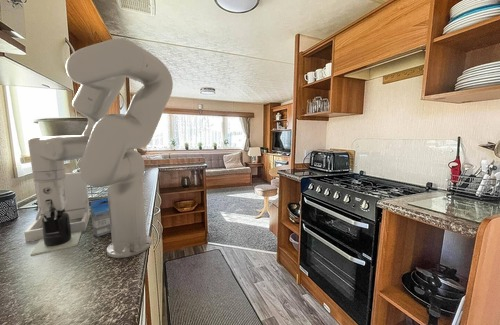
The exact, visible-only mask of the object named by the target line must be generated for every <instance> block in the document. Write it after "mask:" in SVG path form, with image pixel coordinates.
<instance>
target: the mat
mask: <svg viewBox="0 0 500 325" xmlns="http://www.w3.org/2000/svg"><path fill="white" fill-rule="evenodd" d="M82 233H83V231H79V232H74V233H71V239H70V240H69V241H68V242H66V243H64V244H61V245H57V246H46V245H45V244H44V239H39V240H38V243H37V244H36V245H35V247H34V249H33V250H32V251H31V252H30V256H31V257H32V256H35V255H41V254H45V253H46V254H47V253H49V252H54V251H58V250H64V249H68V248H73V247H77V246H78V245H79V242H80V239H81V235H82Z"/></svg>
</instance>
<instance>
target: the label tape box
mask: <svg viewBox="0 0 500 325" xmlns="http://www.w3.org/2000/svg"><path fill="white" fill-rule="evenodd" d="M104 202H105V203H104ZM89 205H90V215H91V222H92V230H93V235H94V236H96V237H97V238H99V237H102V236H104V235H107V234H111V227H110V216H109V206H108V197H106V198H101V199H98V200H97V199H96V200H93V201H89Z"/></svg>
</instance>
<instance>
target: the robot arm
mask: <svg viewBox="0 0 500 325" xmlns="http://www.w3.org/2000/svg"><path fill="white" fill-rule="evenodd" d="M65 71H66V74H67V76H68V77H69V79H70V80H72V82H74V83H76V84H79V85H80V87H79V88H78V90H77V92H76V94H75V96H74V98H72V102H71V105H72V107H73V109H74V110H75V111H76V112H78V114H80V115H81V116H84V118H85V117H86V118H87V125H86V126H85V129H84V131H83V132H82V134H81V135H79V134H78V135H55V136H54V135H53V136H52V135H51V136H48V135H47V136H43V135H42V136H32V137H30V138H29V139H28V151H29V158H30V164H31V171H32V177H33V182H38V184H39V197H40V205H41V210H42V213H44V214H45V215H44V223H45V230H46V233H53V232H58V231H60V225H59V218H58V219H57V211H58V210H60V211H62V210H63V209H64V208H65V207H66V205H67V196H66V191H65V185H64V181H63V179H66V174H65V173H66V167H65V162H67V161H72V160H80V163H79V164H80V166H79V172H80V174H81V177H82V179H83V180H84V181H85V182H86V183H87V186H88V185H89V186H90V187H93V188H104V187H108V191H107V198H108V201H107V203H108V206H109V216H110V227H111V233H110V234H111V243H110V244H108V246H107V248H106V254H107V256H108V257H109V258H110V257H111V258H115V259H123V258H129V257H134V256H136V255H139V254H140V253H143V252H145V251H147V250H148V249H149V248H150V247H151V246H152V244H153V239H152V237H151V236H149V235H147V228H146V226H147V225H146V214H145V212H146V211H145V202H144V200H145V198H144V195H145V194H144V176H145V160H144V158H143V156H142V155H141V153H140V152H138V151H137V149H138V150H139V149H141V148H145V147H147V146H149V144H151V143H150V142H151V141H152V139H153V137H154V134H155V132H156V130H157V127H158V125H159V123H160V120H161V118H162V115H163V113H164V111H165V109H166V106H167V104H168V102H169V99H171V95H172V92H173V88H174V87H173V78H172V77H173V76H172V75H171V72H170V70H169V69H168V67H167V66H166V64H164V62H162V61H161V59H159V58H158V57H157V56H155V55H154V54H153V53H151V52H150V51H148V50H146V49H144V48H143V47H141V46H140V45H138V44H137V43H135V42H133V41H131V40H129V39H126V38H121V37H120V38H119V37H118V38H111V39H108V40H104V41H102V42H98V43H94V44H91V45H87V46H85V47H82V48H79V49H77V50H75V51H74V52H72V53H71V54H70V56H68V58H67V60H66V63H65ZM126 78H128V79H131V80H133V81H135V82H138V83H141V85H142V87H141V88H139V90H137V91H136V92H135V93H134V95H133V96H132V98H131V100H130V104H129V105H128V108H127V110H126V112H125V113H124V114H123V113H109V111H110V109H111V107H112V106H113V105H114V104H113V103H114V102H115V100H116V99H117V97H118V96H119V94H120V92H121V90H122V88H123V87H124V85H125V83H126V82H125V81H126ZM108 113H109V114H108ZM53 209H55V210H53ZM64 212H65V211H64ZM53 213H54V214H53Z"/></svg>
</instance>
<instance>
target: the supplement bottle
mask: <svg viewBox="0 0 500 325" xmlns="http://www.w3.org/2000/svg"><path fill="white" fill-rule="evenodd" d="M53 210H55V209H53ZM64 211H65V208H64V209H63V210H62V211H60V210H58V211H57V219H58V218H59V225H60V231H58V232H53V233H46V230H45V223H44V217H43V218H42V220H41V222H42V226H41V228H42V230H43V239H44V244H45V245H46V246H57V245H61V244H64V243H66V242H68V241H69V240H70V239H71V226H70V223H71V220H70V217H69V214H68V213H66V212H64ZM53 214H54V213H53Z"/></svg>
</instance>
